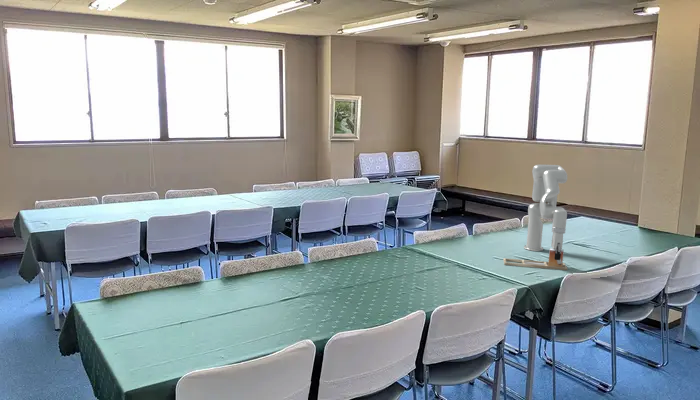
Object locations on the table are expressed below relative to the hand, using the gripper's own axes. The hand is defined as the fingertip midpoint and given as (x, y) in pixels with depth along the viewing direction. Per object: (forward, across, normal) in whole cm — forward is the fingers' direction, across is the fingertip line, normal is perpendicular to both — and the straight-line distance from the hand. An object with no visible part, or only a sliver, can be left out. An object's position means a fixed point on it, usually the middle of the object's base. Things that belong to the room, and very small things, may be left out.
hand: (556, 257), depth 318 cm
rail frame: (+6, 0, -12) cm, 13 cm away
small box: (+6, 0, 0) cm, 6 cm away
